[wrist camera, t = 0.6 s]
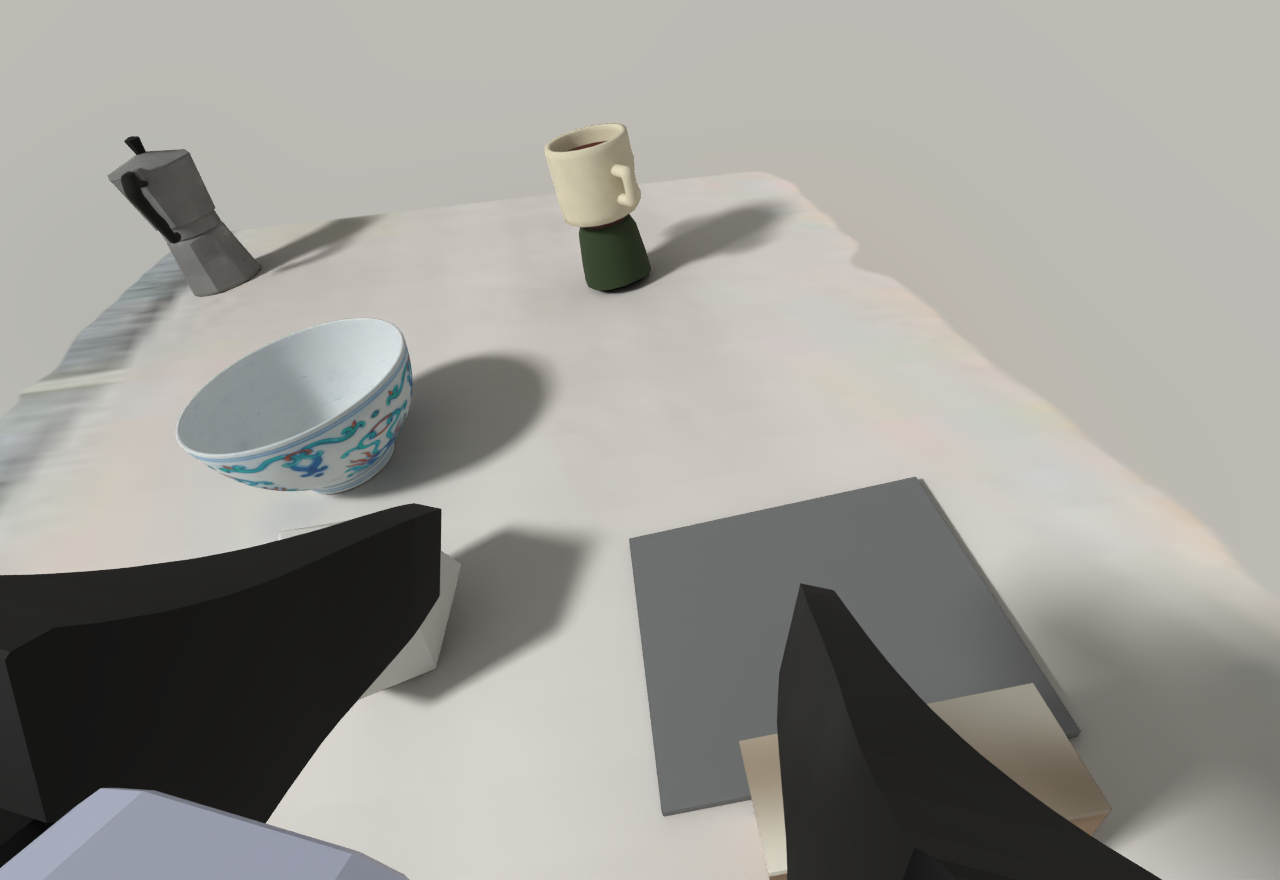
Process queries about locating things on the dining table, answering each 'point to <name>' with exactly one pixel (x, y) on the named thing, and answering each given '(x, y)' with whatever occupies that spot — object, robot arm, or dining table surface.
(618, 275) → the character mug
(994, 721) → the two-tone wooden block
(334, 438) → the chinaware
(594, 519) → the dining table surface
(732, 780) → the mat
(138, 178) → the coffeepot
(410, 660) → the die
